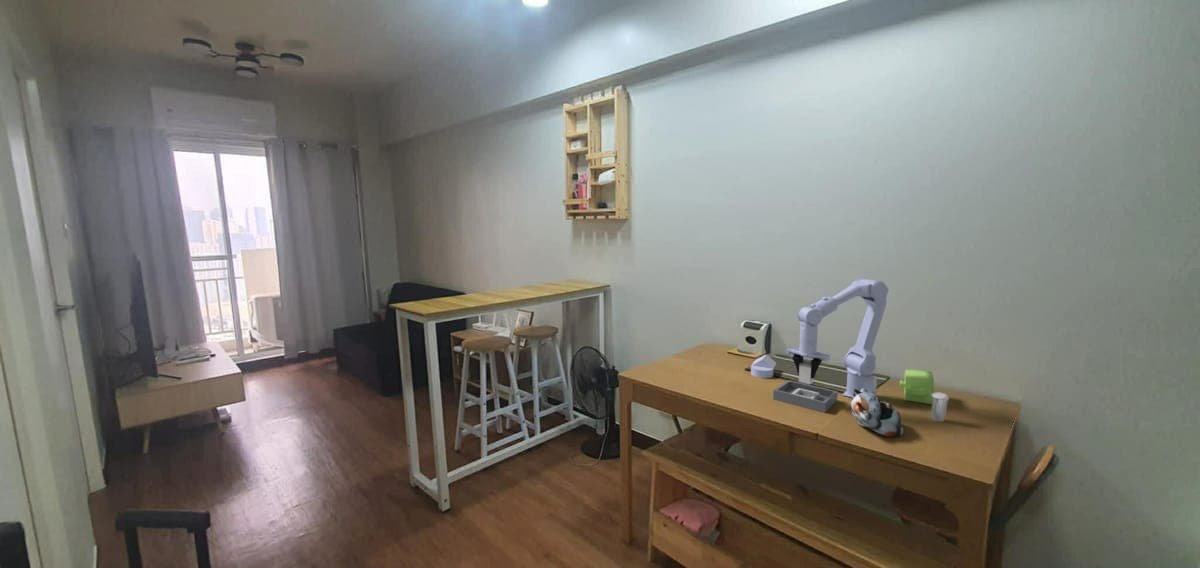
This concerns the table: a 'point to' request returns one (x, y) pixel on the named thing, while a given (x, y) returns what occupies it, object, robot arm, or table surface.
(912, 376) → the gearbox
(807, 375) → the block
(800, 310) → the robot arm
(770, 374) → the wedge on round base
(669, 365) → the table surface
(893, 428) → the lucky cat figurine
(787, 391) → the housing
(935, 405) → the milkshake
